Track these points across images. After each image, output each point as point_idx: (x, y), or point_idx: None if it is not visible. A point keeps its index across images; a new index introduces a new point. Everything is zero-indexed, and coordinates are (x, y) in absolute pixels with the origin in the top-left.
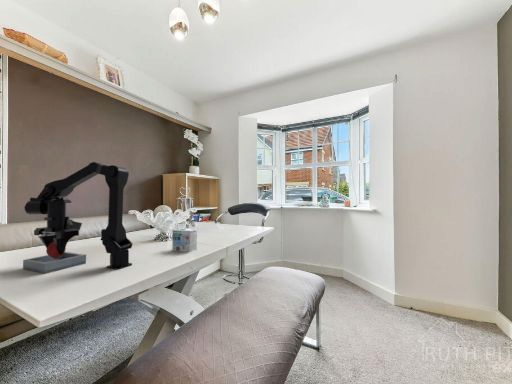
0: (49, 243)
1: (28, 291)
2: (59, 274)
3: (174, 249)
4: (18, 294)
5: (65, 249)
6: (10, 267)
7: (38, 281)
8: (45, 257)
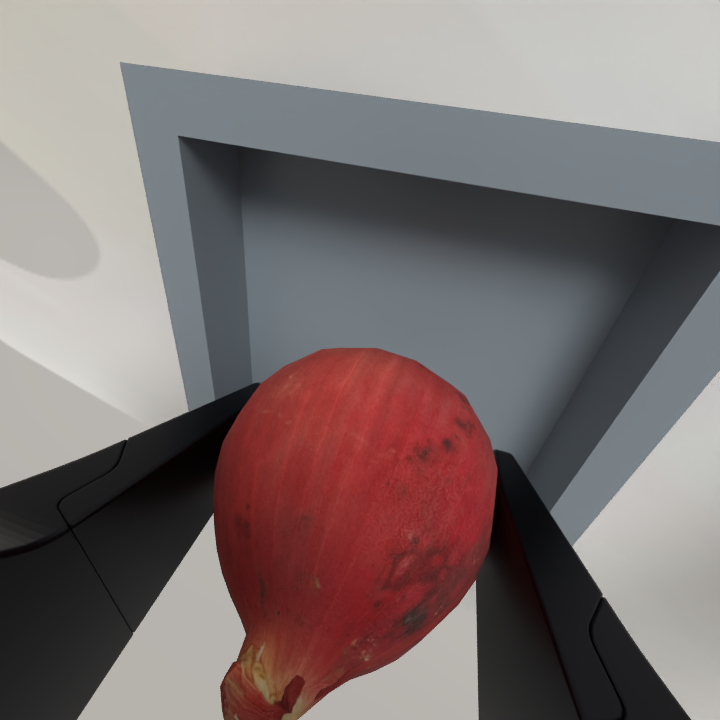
0: (163, 538)
1: (713, 698)
2: (683, 526)
3: None
4: (688, 709)
5: (471, 418)
6: (122, 394)
7: (631, 610)
8: (218, 354)
